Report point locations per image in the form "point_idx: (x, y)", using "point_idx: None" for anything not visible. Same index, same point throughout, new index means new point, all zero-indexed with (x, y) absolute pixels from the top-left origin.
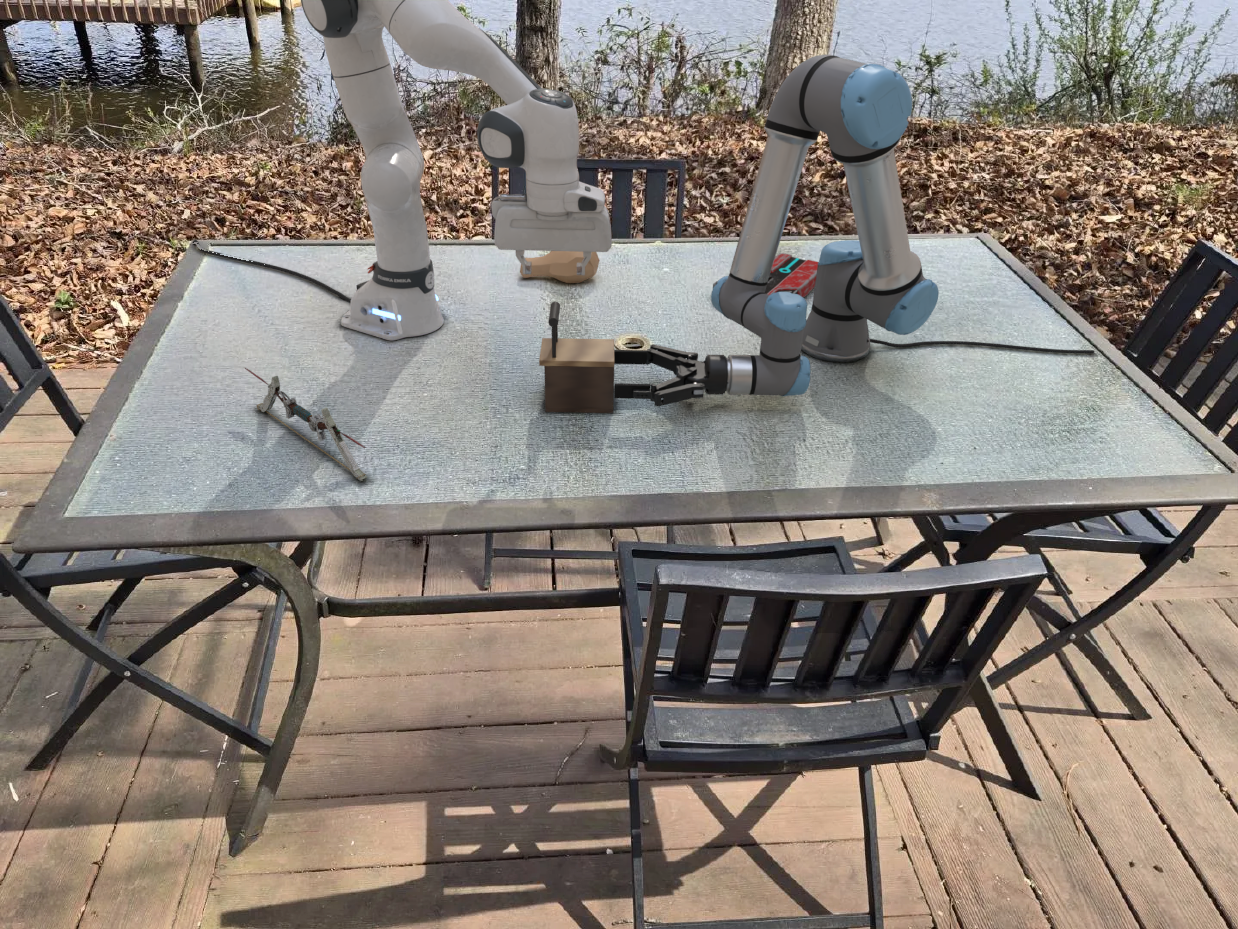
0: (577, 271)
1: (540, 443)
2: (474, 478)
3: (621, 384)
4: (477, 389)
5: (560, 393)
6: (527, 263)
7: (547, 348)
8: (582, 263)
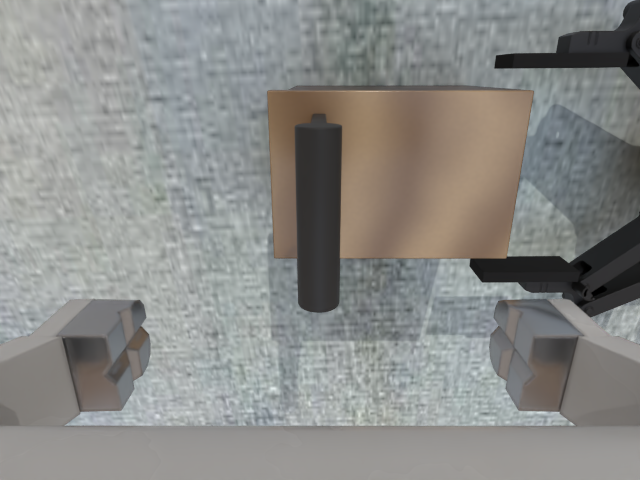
0: (507, 377)
1: (298, 322)
2: (197, 419)
3: (501, 278)
4: (113, 100)
5: None
6: (82, 378)
7: (293, 177)
8: (584, 417)
